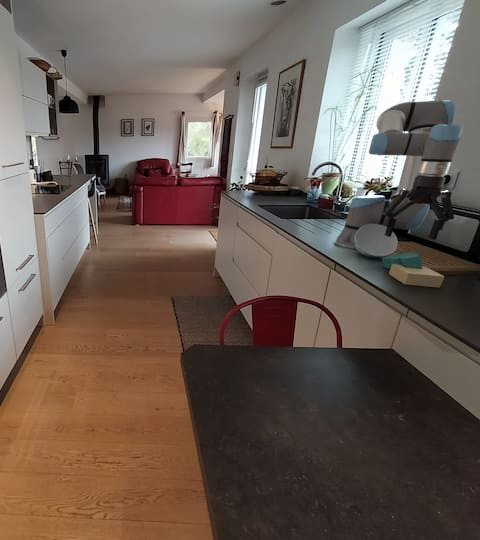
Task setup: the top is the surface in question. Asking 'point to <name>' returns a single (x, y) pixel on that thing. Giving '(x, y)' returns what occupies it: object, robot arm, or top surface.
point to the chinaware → (374, 241)
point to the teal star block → (403, 260)
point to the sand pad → (416, 276)
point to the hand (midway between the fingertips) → (409, 237)
